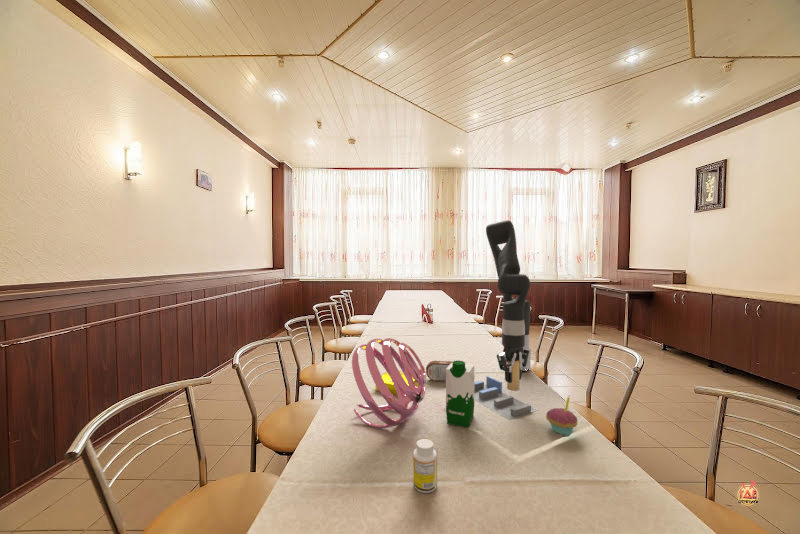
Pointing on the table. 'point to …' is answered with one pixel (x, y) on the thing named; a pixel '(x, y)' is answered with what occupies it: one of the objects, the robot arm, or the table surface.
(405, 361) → the spiral basket
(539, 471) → the table surface
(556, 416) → the cupcake
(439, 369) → the tin
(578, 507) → the table surface
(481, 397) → the slotted grey board
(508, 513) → the table surface
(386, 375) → the element tile
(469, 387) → the milk carton
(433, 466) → the supplement bottle
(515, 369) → the yellow bottle
